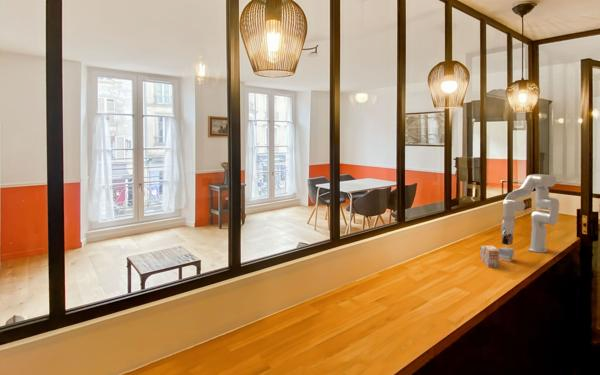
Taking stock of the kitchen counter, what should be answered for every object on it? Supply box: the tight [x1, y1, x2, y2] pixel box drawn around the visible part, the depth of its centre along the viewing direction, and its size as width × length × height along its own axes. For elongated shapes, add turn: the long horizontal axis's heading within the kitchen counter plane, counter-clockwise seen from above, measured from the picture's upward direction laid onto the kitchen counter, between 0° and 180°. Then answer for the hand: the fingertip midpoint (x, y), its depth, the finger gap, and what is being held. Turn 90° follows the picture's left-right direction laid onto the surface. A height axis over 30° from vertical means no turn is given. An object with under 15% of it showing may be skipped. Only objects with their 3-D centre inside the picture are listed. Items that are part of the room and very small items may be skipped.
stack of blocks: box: [479, 245, 499, 269], centre depth 269 cm, size 21×6×12 cm, turn 169°
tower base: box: [498, 254, 515, 263], centre depth 276 cm, size 7×7×4 cm
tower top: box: [498, 246, 515, 256], centre depth 276 cm, size 7×7×4 cm
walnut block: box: [501, 235, 514, 246], centre depth 274 cm, size 5×5×6 cm
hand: (507, 242), depth 274 cm, fingers closed on walnut block, 5 cm apart
